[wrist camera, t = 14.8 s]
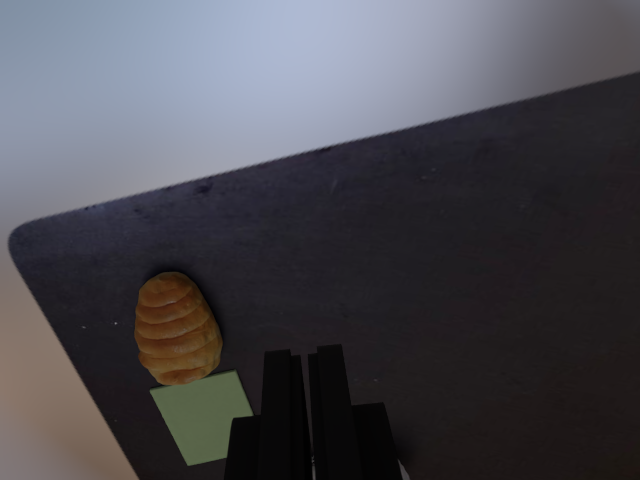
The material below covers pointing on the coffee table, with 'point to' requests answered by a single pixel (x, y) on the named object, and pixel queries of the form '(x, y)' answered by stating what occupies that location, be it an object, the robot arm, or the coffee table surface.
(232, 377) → the cloth
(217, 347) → the pastry
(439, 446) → the coffee table surface
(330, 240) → the coffee table surface
